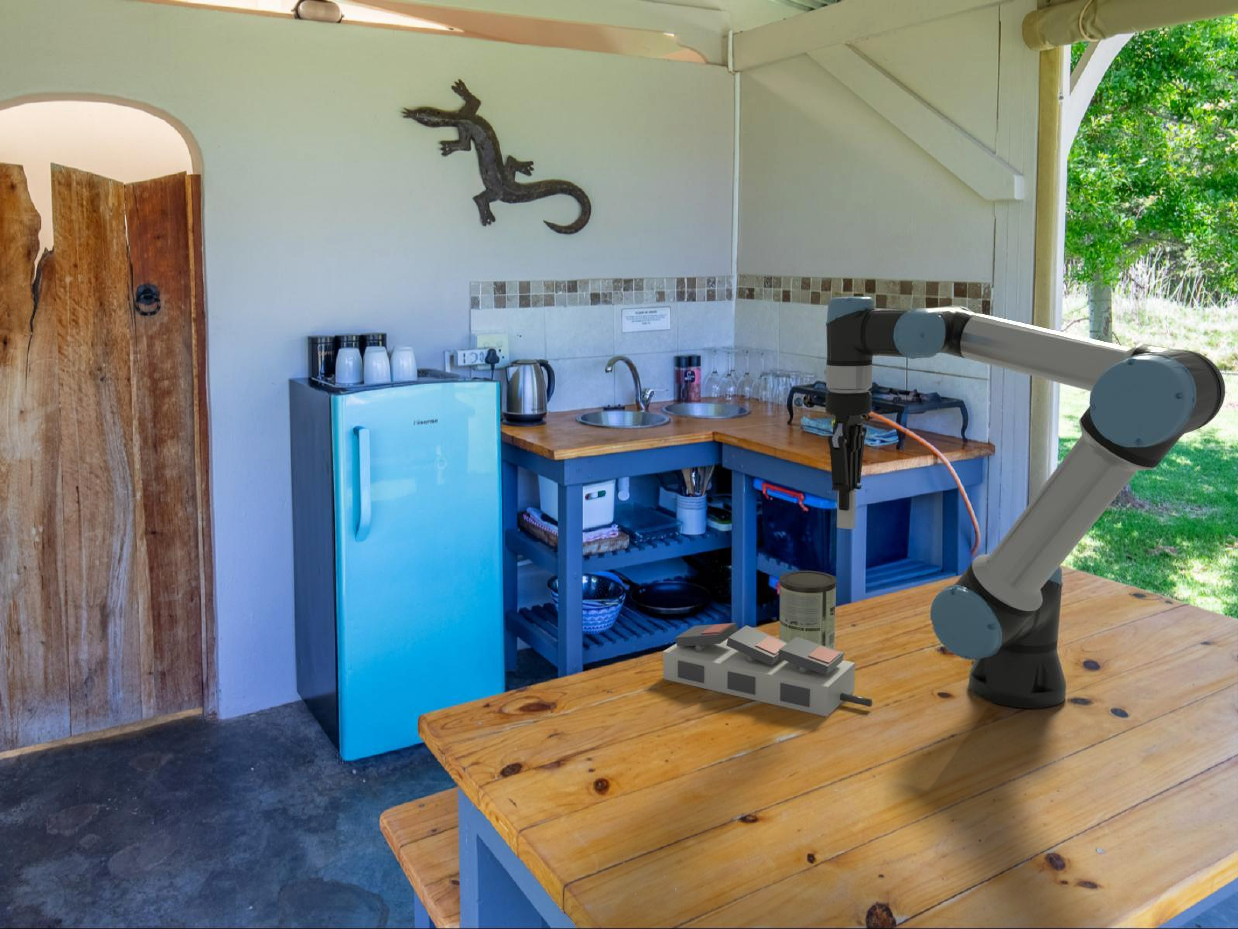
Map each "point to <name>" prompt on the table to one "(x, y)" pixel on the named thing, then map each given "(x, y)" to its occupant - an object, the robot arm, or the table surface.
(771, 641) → the rocker
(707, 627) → the rocker
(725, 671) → the power strip
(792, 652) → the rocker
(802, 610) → the coffee can
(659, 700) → the table surface
